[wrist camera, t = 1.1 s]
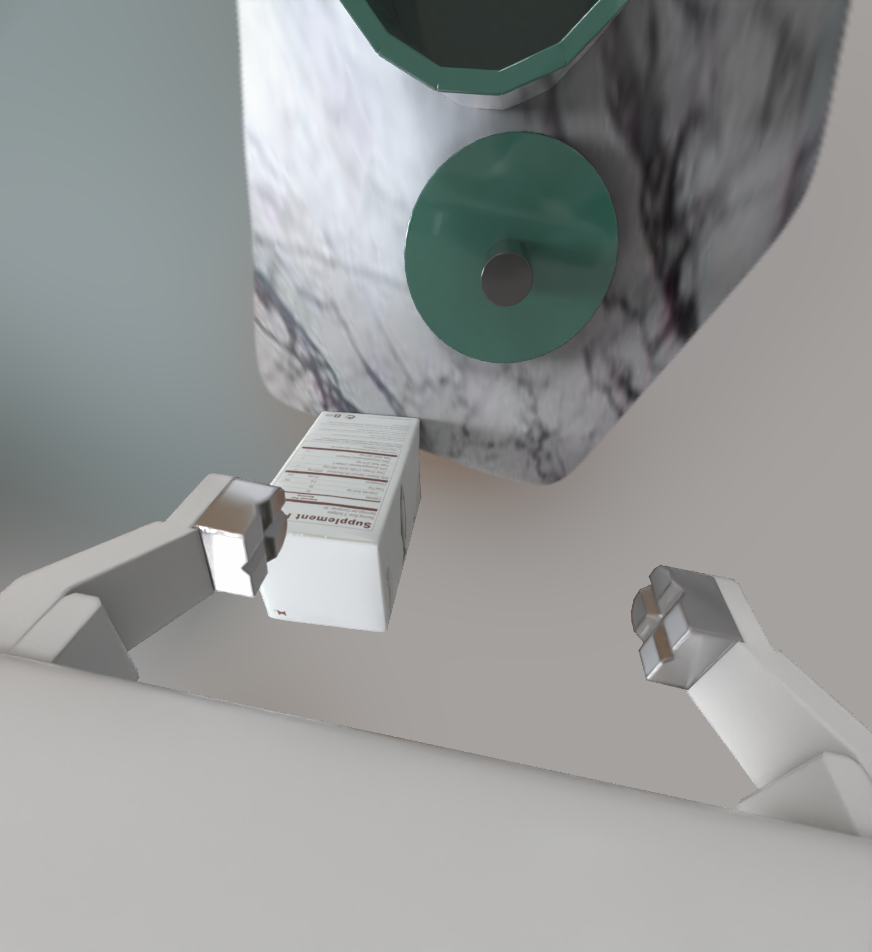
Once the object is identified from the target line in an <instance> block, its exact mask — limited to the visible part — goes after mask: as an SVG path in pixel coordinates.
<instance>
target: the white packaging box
mask: <svg viewBox="0 0 872 952" xmlns="http://www.w3.org/2000/svg"><path fill="white" fill-rule="evenodd" d="M419 429H420V419H416V418H408V417H394V416H383V415H370V414H357V413H344V412H328V411H323V412H322V413H321V414H320V415H319V417H318V418H317V420H316V421H315V423H314V424H313V425H312V427H311V428H310V429H309V431H308V432H307V434H306V435H305V437H304V438H303V440H302V441H301V442H300V443H299V445H298V446H297V448H296V449H295V450H294V452H293V453H292V455H291V456H290V457H289V459H288V460H287V462H286V463H285V464H284V466H283V467H282V469H281V470H280V471H279V473H278V474H277V476H276V477H275V478H274V480H273V481H272V483H271V484H270V485H273V486H278V487H281V488H282V489H284V491H285V499H286V502H285V504H284V505H283V507H282V509H281V510H282V511H283V512H284V513H285V515H286V516H287V523H288V526H287V535H286V538H285V541H284V544H283V547H282V549H281V551H280V553H279V554H278V556H277V558H275V559H273V560H271V561H269V562H268V563H267V568H268V574H267V576H266V578H265V579H264V581H263V583H262V585H261V586H260V588H259V589H260V592H261V594H262V597H263V600H264V603H265V606H266V609H267V611H268V615H269V617H272V618H276V619H281V620H288V621H295V622H303V623H311V624H319V625H328V626H336V627H344V628H352V629H360V630H367V631H378V632H385V631H387V628H388V624H389V619H390V615H391V612H392V608H393V604H394V600H395V596H396V592H397V588H398V584H399V580H400V577H401V573H402V569H403V565H404V561H405V557H406V554H407V550H408V546H409V542H410V538H411V534H412V530H413V526H414V523H415V519H416V515H417V511H418V507H419V503H420V499H421V490H420V473H419Z"/></svg>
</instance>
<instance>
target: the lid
mask: <svg viewBox="0 0 872 952" xmlns="http://www.w3.org/2000/svg"><path fill="white" fill-rule="evenodd" d="M617 252H618V225H617V219H616V213H615V209H614V205H613V202H612V199H611V196H610V194H609V192H608V189H607V187H606V185H605V183H604V181H603V180H602V178H601V177H600V175H599V174H598V172H597V171H596V169H595V168H594V167H593V166H592V165H591V164H590V162H589V161H588V160H587V159H586V158H585V157H584V156H583V155H581V154H580V153H579V152H578V151H576V150H575V149H574V148H572V147H571V146H569V145H567V144H565V143H564V142H562V141H560V140H558V139H556V138H553V137H550V136H547V135H544V134H539V133H533V132H526V131H522V132H505V133H499V134H494V135H491V136H488V137H485V138H482V139H479V140H477V141H475V142H473V143H471V144H469V145H467V146H465V147H464V148H462V149H461V150H459V151H458V152H457V153H455V154H454V155H452V156H451V157H450V158H449V159H448V160H447V161H446V162H445V163H443V164H442V165H441V166H440V167H439V168H438V169H437V171H436V172H435V173H434V174H433V176H432V177H431V178H430V179H429V181H428V182H427V184H426V185H425V187H424V188H423V190H422V192H421V193H420V195H419V197H418V199H417V202H416V204H415V206H414V208H413V211H412V214H411V217H410V220H409V223H408V228H407V233H406V238H405V251H404V259H405V272H406V278H407V283H408V287H409V290H410V294H411V297H412V299H413V301H414V304H415V306H416V308H417V310H418V312H419V314H420V315H421V317H422V319H423V320H424V322H425V323H426V324H427V325H428V327H429V328H430V329H431V330H432V331H433V333H434V334H435V335H436V336H437V337H438V338H439V339H441V340H442V341H443V342H444V343H446V344H447V345H448V346H450V347H451V348H453V349H454V350H456V351H458V352H460V353H462V354H464V355H466V356H468V357H471V358H474V359H478V360H481V361H486V362H492V363H514V362H521V361H526V360H530V359H533V358H536V357H539V356H542V355H544V354H546V353H549V352H551V351H553V350H555V349H556V348H558V347H559V346H561V345H563V344H564V343H566V342H567V341H568V340H569V339H571V338H572V337H573V336H575V335H576V334H577V333H578V332H579V331H580V330H581V329H582V328H583V327H584V326H585V325H586V323H587V322H588V321H589V320H590V319H591V317H592V316H593V315H594V313H595V312H596V310H597V309H598V307H599V306H600V304H601V302H602V301H603V298H604V296H605V294H606V292H607V290H608V288H609V285H610V282H611V279H612V277H613V274H614V269H615V265H616V260H617Z"/></svg>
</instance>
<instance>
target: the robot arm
mask: <svg viewBox="0 0 872 952" xmlns="http://www.w3.org/2000/svg"><path fill="white" fill-rule="evenodd" d="M285 502H286V499H285V491H284V489H282V488H281V487H278V486H273V485H268V484H265V483H260V482H256V481H251V480H247V479H243V478H238V477H231V476H227V475H223V474H219V473H212V474H209V475H207V476H206V477H205V478H204V480H203V481H202V482H201V483H200V484H199V485H198V486H197V487H196V488H195V489H194V490H193V491H192V493H191V494H190V495H189V496H188V497H187V498H186V499H185V500H184V501H183V502H182V503H181V504H180V506H179V507H178V508H177V509H176V510H175V511H174V512H173V513H172V514H171V515H170V516H169V517H168V519H167V520H166V521H165V522H160V521H156V522H153V523H151V524H148V525H146V526H143V527H141V528H138V529H136V530H134V531H131V532H129V533H126V534H124V535H121V536H119V537H116V538H114V539H112V540H109V541H107V542H104V543H102V544H99V545H97V546H94V547H92V548H89V549H87V550H85V551H82V552H80V553H77V554H75V555H72V556H70V557H68V558H65V559H63V560H60V561H58V562H55V563H53V564H50V565H48V566H46V567H43V568H41V569H38V570H36V571H33V572H31V573H28V574H26V575H24V576H21V577H19V578H17V579H16V580H15V581H14V582H13V583H12V584H10V585H9V586H8V587H7V588H6V589H5V590H4V591H2V592H1V593H0V952H872V731H871V730H870V729H868V727H867V726H865V725H864V724H863V723H862V722H861V721H860V720H859V719H857V718H856V717H855V716H854V715H853V714H852V713H851V712H850V711H848V710H847V709H846V708H845V707H844V706H843V705H842V704H840V703H839V702H838V701H837V700H836V699H835V698H834V697H833V696H832V695H830V694H829V693H828V692H827V691H826V690H825V689H823V688H822V687H821V686H820V685H819V684H818V683H817V682H816V681H815V680H813V679H812V678H811V677H810V676H809V675H808V674H807V673H806V672H804V671H803V670H802V669H801V668H800V667H799V666H798V665H797V664H795V663H794V662H793V661H792V660H791V659H790V658H789V657H788V656H786V655H785V654H784V653H783V652H782V651H780V650H776V649H773V648H772V646H771V644H770V642H769V640H768V638H767V637H766V634H765V633H764V631H763V629H762V627H761V625H760V623H759V621H758V619H757V617H756V615H755V614H754V611H753V609H752V608H751V606H750V604H749V602H748V600H747V598H746V596H745V594H744V592H743V590H742V588H741V586H740V585H739V584H738V583H737V582H736V581H735V580H734V579H731V578H725V577H720V576H715V575H710V574H709V575H707V574H704V573H699V572H693V571H688V570H683V569H678V568H673V567H668V566H663V565H660V566H658V567H656V568H655V569H654V570H653V571H652V573H651V574H650V575H649V578H650V581H651V585H649V586H647V587H644V588H642V589H640V590H639V592H638V593H637V595H636V596H635V598H634V600H633V605H632V610H631V619H632V625H633V630H634V632H635V633H636V634H637V636H638V637H639V638H640V639H641V640H642V641H643V644H642V646H641V648H640V649H639V653H640V658H641V661H642V665H643V669H644V673H645V677H646V680H648V681H652V682H656V683H661V684H664V685H669V686H673V687H677V688H681V689H686V690H688V691H687V693H688V695H689V696H690V697H691V699H692V700H693V701H694V703H695V704H696V705H697V707H698V708H699V709H700V711H701V712H702V713H703V715H704V716H705V717H706V719H707V720H708V721H709V723H710V724H711V726H712V727H713V728H714V730H715V731H716V732H717V734H718V735H719V737H720V738H721V739H722V741H723V742H724V743H725V745H726V746H727V747H728V749H729V750H730V751H731V753H732V754H733V755H734V757H735V758H736V760H737V761H738V762H739V764H741V766H742V768H743V769H744V770H745V772H746V773H747V774H748V776H749V777H750V779H751V780H752V781H753V783H754V784H755V785H756V787H757V788H758V790H757V791H755V792H753V793H752V794H750V795H748V796H746V797H745V798H743V799H741V801H740V802H739V803H738V805H737V808H738V810H733V809H729V808H724V807H719V806H715V805H710V804H705V803H700V802H696V801H691V800H687V799H682V798H678V797H673V796H668V795H664V794H659V793H654V792H650V791H645V790H640V789H636V788H631V787H626V786H621V785H617V784H612V783H608V782H603V781H598V780H594V779H589V778H585V777H580V776H575V775H570V774H565V773H561V772H557V771H552V770H547V769H543V768H538V767H533V766H529V765H524V764H519V763H515V762H510V761H505V760H500V759H496V758H492V757H486V756H482V755H477V754H473V753H468V752H463V751H459V750H454V749H450V748H445V747H440V746H435V745H431V744H426V743H422V742H417V741H412V740H408V739H403V738H398V737H393V736H389V735H384V734H380V733H375V732H370V731H366V730H361V729H356V728H352V727H347V726H342V725H337V724H333V723H328V722H324V721H319V720H314V719H309V718H305V717H300V716H295V715H291V714H286V713H281V712H277V711H272V710H268V709H263V708H258V707H253V706H249V705H244V704H240V703H235V702H230V701H225V700H221V699H216V698H212V697H207V696H202V695H198V694H193V693H188V692H184V691H178V690H174V689H170V688H165V687H160V686H156V685H151V684H146V683H142V682H137V680H138V679H139V675H138V671H137V668H136V667H135V665H134V663H133V661H132V659H131V657H130V655H129V653H128V651H129V650H131V649H132V648H134V647H135V646H137V645H138V644H139V643H141V642H143V641H144V640H145V639H147V638H148V637H150V636H151V635H153V634H154V633H156V632H157V631H159V630H160V629H162V628H163V627H165V626H166V625H167V624H169V623H170V622H172V621H173V620H175V619H176V618H178V617H179V616H181V615H182V614H184V613H185V612H186V611H188V610H189V609H191V608H192V607H194V606H195V605H197V604H198V603H200V602H201V601H203V600H204V599H206V598H207V597H208V596H210V595H211V594H213V593H214V591H220V592H225V593H231V594H236V595H242V596H247V597H253V598H254V597H255V595H256V593H257V592H258V590H259V588H260V586H261V585H262V583H263V581H264V579H265V578H266V576H267V574H268V568H267V563H268V562H269V561H271V560H273V559H275V558H277V556H278V554H279V553H280V551H281V549H282V547H283V544H284V541H285V538H286V535H287V526H288V523H287V516H286V515H285V513H284V512H283V511H282V510H281V509H282V507H283V505H284V504H285Z"/></svg>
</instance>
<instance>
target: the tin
mask: <svg viewBox="0 0 872 952" xmlns="http://www.w3.org/2000/svg"><path fill="white" fill-rule="evenodd" d="M629 1H630V0H340V2H341V3H342V5H343V6H344V8H345V9H346V10H347V12H348V13H349V15H350V16H351V18H352V19H353V20H354V22H355V23H356V25H357V26H358V28H359V29H360V30H361V32H362V33H363V35H364V36H365V38H366V39H367V40H368V42H369V43H370V45H371V46H372V47H373V49H374V50H375V52H376V53H378V54H379V56H380V57H382V58H383V59H385V60H387V61H388V62H390V63H391V64H393V65H394V66H396V67H397V68H399V69H401V70H402V71H404V72H405V73H407V74H408V75H410V76H411V77H413V78H415V79H416V80H418V81H419V82H421V83H422V84H424V85H425V86H427V87H429V88H430V89H432V90H433V91H435V92H437V93H438V94H440V95H441V96H443V97H444V98H446V99H448V100H449V101H451V102H452V103H454V104H456V105H457V106H460V107H467V108H478V109H497V110H503V109H507V108H510V107H512V106H514V105H517V104H519V103H522V102H525V101H527V100H529V99H531V98H533V97H535V96H537V95H539V94H541V93H544V92H546V91H548V90H549V89H551V88H552V87H553V86H554V85H555V84H556V83H557V82H558V81H559V80H560V79H561V78H562V76H563V75H564V74H565V73H566V72H567V71H569V69H570V68H571V67H572V66H573V65H574V64H575V63H576V62H577V61H578V60H579V59H580V58H581V57H582V56H583V55H584V54H585V53H586V52H587V51H588V50H589V49H590V48H591V46H592V45H593V44H594V43H595V42H596V40H597V39H598V38H599V37H600V36H601V35H602V33H603V32H604V31H605V30H606V29H607V27H608V26H609V25H610V24H611V23H612V21H613V20H614V19H615V18H616V17H617V16H618V14H619V13H620V12H621V11H622V10H623V8H624V7H625V6H626V5H627V4H628V2H629Z"/></svg>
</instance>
